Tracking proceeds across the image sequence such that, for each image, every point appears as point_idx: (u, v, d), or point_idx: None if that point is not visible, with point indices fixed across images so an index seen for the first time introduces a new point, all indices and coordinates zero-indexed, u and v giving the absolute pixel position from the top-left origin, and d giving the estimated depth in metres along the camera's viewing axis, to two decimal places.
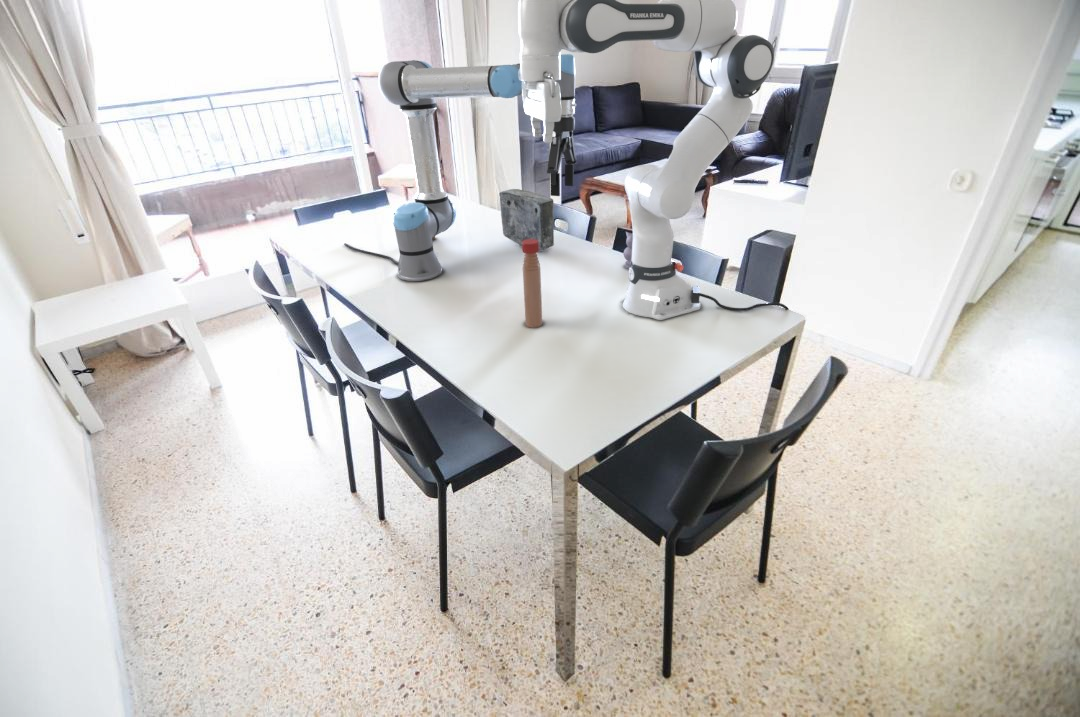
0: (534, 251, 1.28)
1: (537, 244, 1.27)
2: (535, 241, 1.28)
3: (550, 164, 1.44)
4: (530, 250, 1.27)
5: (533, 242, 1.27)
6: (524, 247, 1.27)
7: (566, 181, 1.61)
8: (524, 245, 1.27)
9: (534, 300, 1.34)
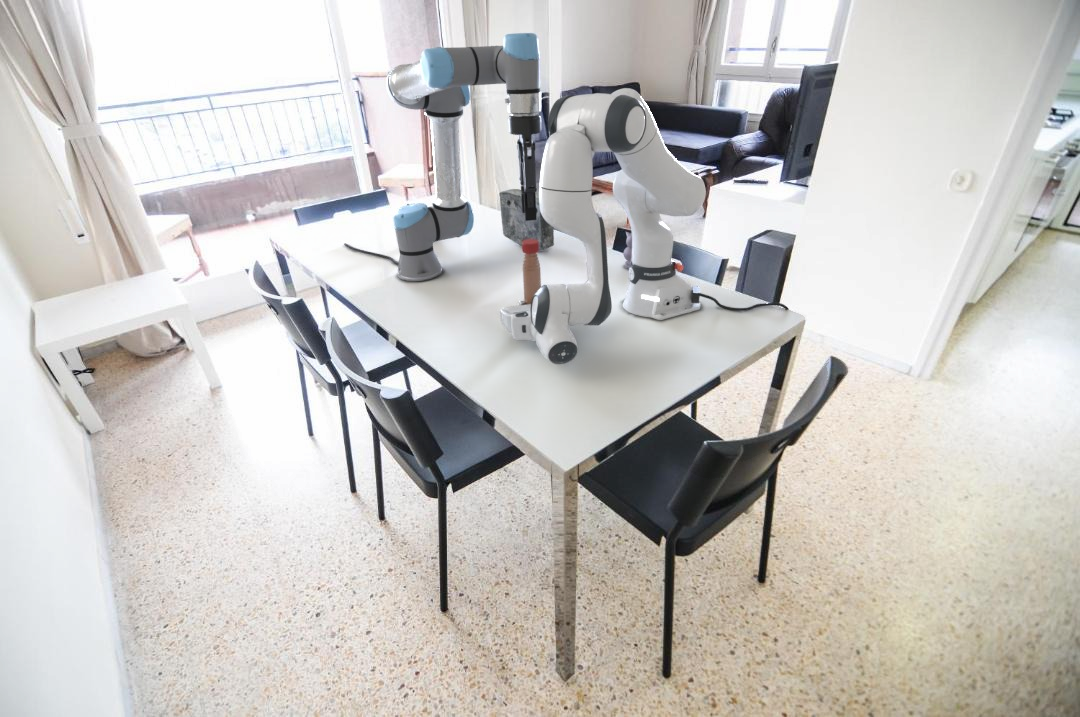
0: (534, 251, 1.28)
1: (537, 244, 1.27)
2: (535, 241, 1.28)
3: None
4: (530, 250, 1.27)
5: (533, 242, 1.27)
6: (524, 247, 1.27)
7: None
8: (525, 245, 1.27)
9: None
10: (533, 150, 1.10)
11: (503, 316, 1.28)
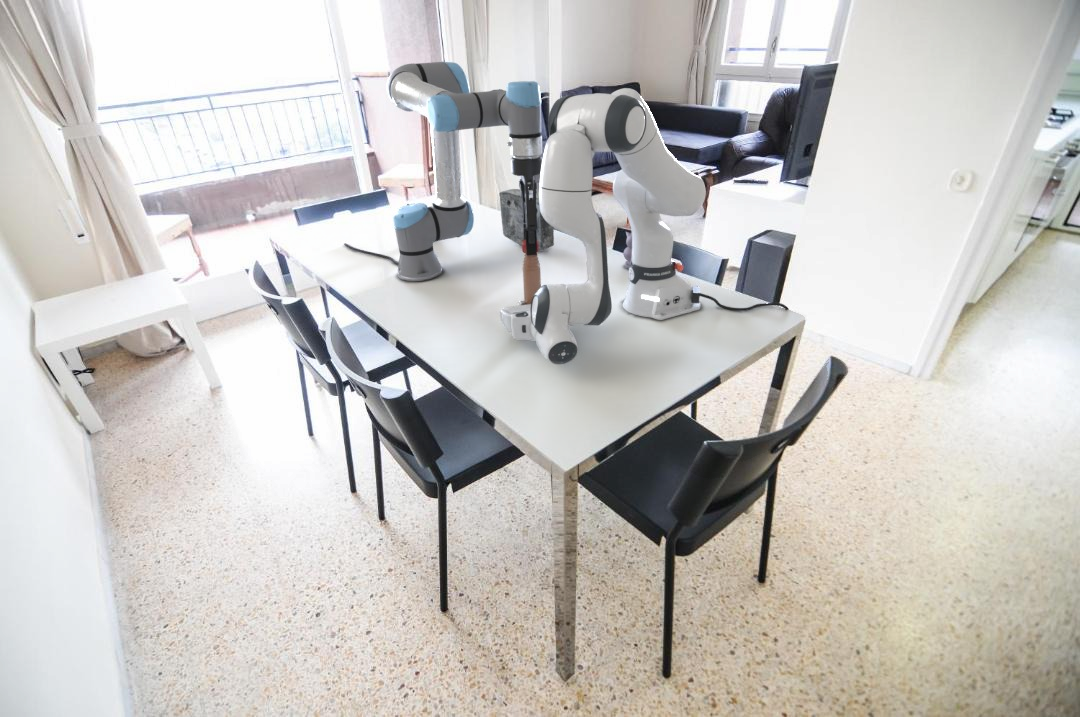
0: None
1: (537, 244, 1.27)
2: None
3: None
4: None
5: None
6: (524, 247, 1.27)
7: None
8: (524, 245, 1.27)
9: None
10: (535, 193, 1.15)
11: (503, 316, 1.28)
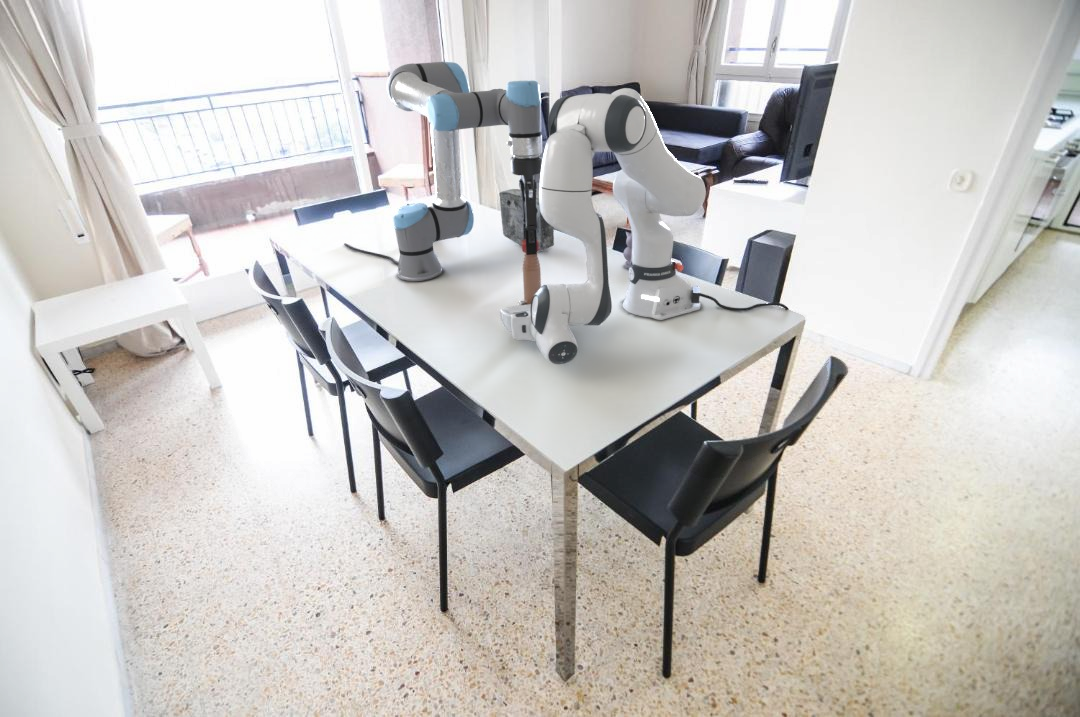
0: None
1: None
2: None
3: None
4: None
5: None
6: (537, 246, 1.28)
7: None
8: (537, 243, 1.27)
9: None
10: (534, 192, 1.15)
11: (503, 316, 1.28)
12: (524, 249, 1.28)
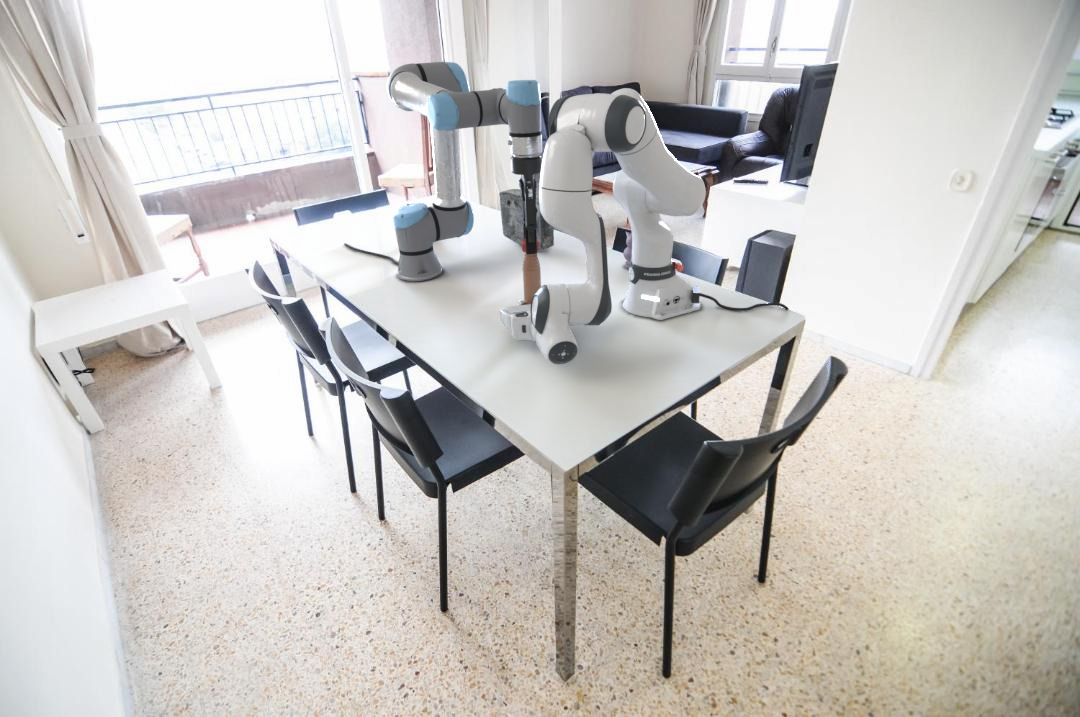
0: None
1: (522, 243, 1.28)
2: (525, 241, 1.27)
3: None
4: None
5: (525, 240, 1.28)
6: None
7: None
8: None
9: None
10: (534, 192, 1.15)
11: (503, 316, 1.28)
12: (537, 248, 1.28)
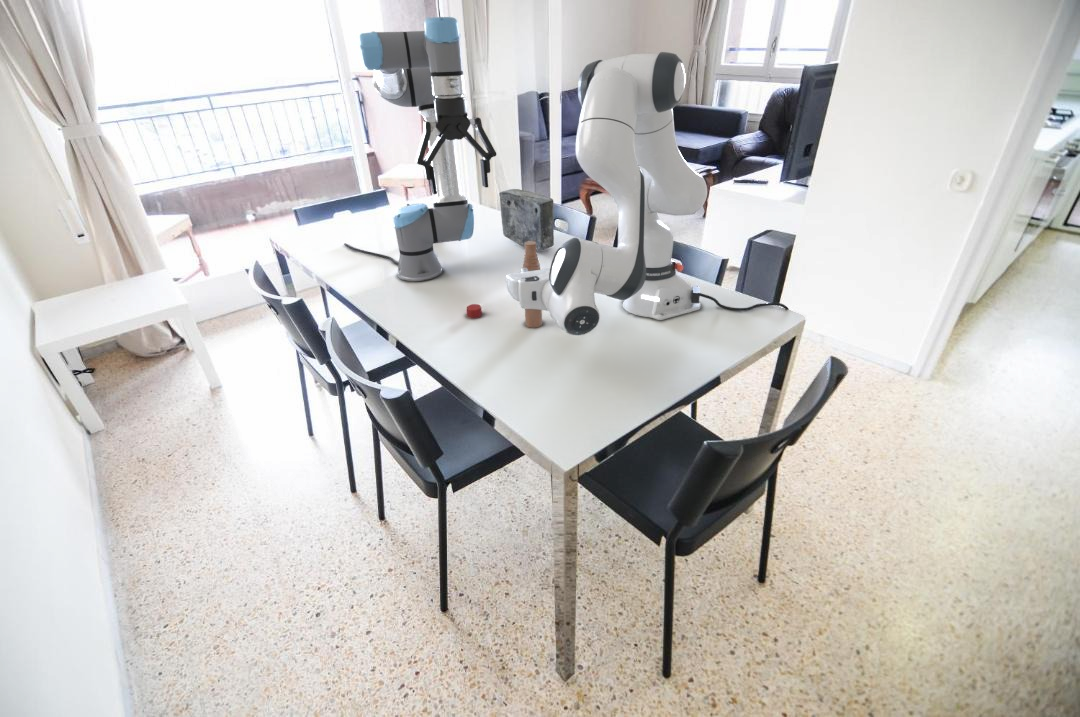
0: (481, 313, 1.46)
1: None
2: (476, 305, 1.46)
3: (417, 154, 1.20)
4: (480, 313, 1.45)
5: (477, 306, 1.46)
6: (475, 313, 1.44)
7: (482, 180, 1.30)
8: (476, 311, 1.44)
9: None
10: None
11: (509, 282, 1.10)
12: (467, 312, 1.46)
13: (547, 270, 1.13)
